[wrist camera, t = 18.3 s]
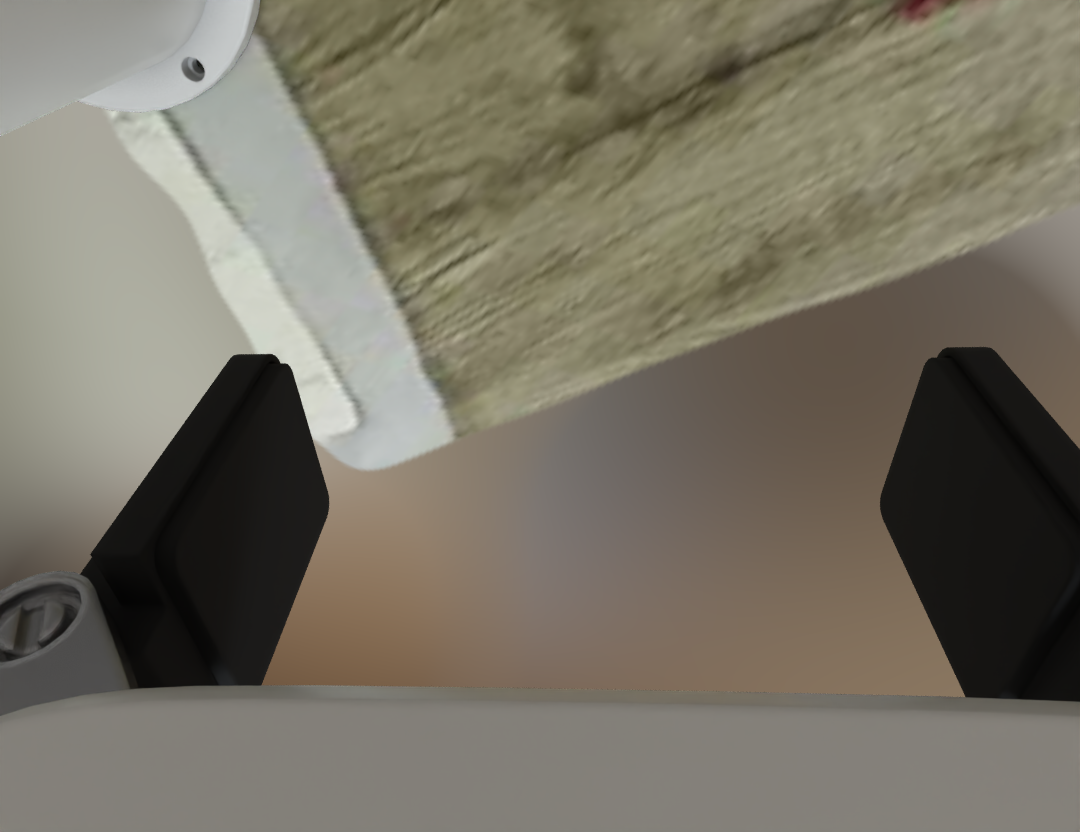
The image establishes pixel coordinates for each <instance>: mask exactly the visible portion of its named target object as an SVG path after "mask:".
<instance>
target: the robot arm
mask: <svg viewBox="0 0 1080 832" xmlns="http://www.w3.org/2000/svg"><path fill="white" fill-rule="evenodd" d="M259 6H260V0H0V136H2V135H4V134H6V133H8V132H10V131H13V130H15V129H17V128H19V127H21V126H24V125H26V124H28V123H30V122H32V121H34V120H37V119H39V118H41V117H43V116H45V115H47V114H49V113H52V112H54V111H56V110H58V109H60V108H63V107H64V106H67V105H69V104H71V103H73V102H75V101H78V102H80V103H84V104H88V105H92V106H96V107H100V108H103V109H107V110H112V111H126V112H140V113H141V112H148V111H155V110H162V109H169V108H171V107H174V106H176V105H179V104H181V103H184V102H186V101H189V100H192V99H194V98H195V97H197V96H199V95H200V94H202V93H204V92H205V91H207V90H208V89H210V88H212V87H213V86H214V85H215V84H216V83H217V82H218V81H220V80H221V79H222V78H223V77H224V76H225V75H226V74H227V73H228V72H229V71H230V70H231V69H232V68H233V67H234V65H235V64H236V62H237V60H238V59H239V57H240V56H241V54H242V53H243V51H244V50H245V48H246V46H247V45H248V42H249V39H250V37H251V34H252V31H253V28H254V26H255V23H256V20H257V17H258V13H259ZM197 60H198V61H199V62H201V64H202V66H203V68H204V71H202V70H201V69H200V68H199V67H198V65H197ZM328 510H329V495H328V491H327V487H326V484H325V480H324V477H323V474H322V471H321V467H320V463H319V460H318V457H317V454H316V450H315V446H314V443H313V440H312V436H311V433H310V429H309V426H308V423H307V419H306V416H305V412H304V409H303V406H302V402H301V399H300V395H299V392H298V389H297V385H296V382H295V378H294V375H293V372H292V369H291V368H290V366H289V365H288V364H280V361H279V360H278V358H277V357H276V356H275V355H273V354H245V355H244V354H239V355H234V356H232V357H231V358H230V360H229V361H228V362H227V364H226V365H225V367H224V368H223V369H222V371H221V372H220V374H219V375H218V376H217V378H216V379H215V381H214V382H213V383H212V385H211V386H210V388H209V389H208V390H207V392H206V393H205V395H204V396H203V397H202V399H201V400H200V402H199V403H198V404H197V406H196V407H195V409H194V410H193V411H192V413H191V414H190V416H189V417H188V418H187V420H186V421H185V423H184V424H183V425H182V427H181V428H180V430H179V431H178V432H177V434H176V435H175V437H174V438H173V439H172V441H171V442H170V444H169V445H168V446H167V448H166V449H165V451H164V452H163V453H162V455H161V456H160V458H159V459H158V460H157V462H156V463H155V465H154V466H153V467H152V469H151V470H150V472H149V473H148V475H147V476H146V477H145V478H144V480H143V481H142V483H141V484H140V486H139V487H138V488H137V490H136V491H135V492H134V494H133V495H132V497H131V498H130V499H129V501H128V502H127V504H126V505H125V506H124V508H123V510H122V511H121V512H120V513H119V515H118V516H117V518H116V519H115V521H114V522H113V523H112V525H111V526H110V528H109V529H108V530H107V532H106V533H105V534H104V536H103V537H102V539H101V540H100V542H99V543H98V544H97V546H96V547H95V549H94V550H93V551H92V553H91V556H92V558H91V560H90V561H89V562H88V564H87V565H86V567H85V568H84V569H83V571H82V572H81V574H78V573H75V572H64V571H56V572H49V573H43V574H38V575H35V576H32V577H29V578H26V579H24V580H21V581H18V582H16V583H14V584H12V585H10V586H9V587H7V588H5V589H3V590H1V591H0V832H1080V449H1079V448H1078V447H1077V446H1076V444H1075V443H1074V442H1073V441H1072V440H1071V439H1070V438H1069V436H1068V435H1067V434H1066V433H1065V432H1064V431H1063V429H1062V428H1061V427H1060V426H1059V425H1058V424H1057V422H1056V421H1055V420H1054V419H1053V418H1052V417H1051V415H1050V414H1049V413H1048V412H1047V411H1046V410H1045V409H1044V407H1043V406H1042V405H1041V404H1040V403H1039V402H1038V400H1037V399H1036V398H1035V397H1034V396H1033V395H1032V393H1031V392H1030V391H1029V390H1028V389H1027V388H1026V386H1025V385H1024V384H1023V383H1022V382H1021V381H1020V379H1019V378H1018V377H1017V376H1016V375H1015V374H1014V373H1013V372H1012V370H1011V369H1010V368H1009V367H1008V366H1007V364H1006V363H1005V362H1004V361H1003V360H1002V359H1001V357H1000V356H999V355H998V354H997V353H996V352H995V351H994V350H993V349H992V348H988V347H959V348H958V347H955V348H954V347H953V348H945V349H943V350H942V351H941V352H940V353H939V355H938V357H937V358H930V359H928V361H927V362H926V363H925V365H924V368H923V371H922V374H921V377H920V380H919V383H918V386H917V389H916V392H915V395H914V398H913V401H912V404H911V407H910V409H909V412H908V415H907V418H906V422H905V425H904V427H903V430H902V433H901V437H900V440H899V443H898V445H897V448H896V451H895V454H894V457H893V460H892V463H891V466H890V470H889V473H888V475H887V478H886V481H885V484H884V487H883V490H882V493H881V498H880V510H881V514H882V517H883V520H884V523H885V525H886V527H887V529H888V531H889V533H890V535H891V538H892V539H893V542H894V544H895V546H896V548H897V551H898V553H899V555H900V557H901V559H902V561H903V563H904V565H905V567H906V570H907V572H908V574H909V576H910V578H911V580H912V583H913V585H914V587H915V589H916V591H917V593H918V596H919V598H920V600H921V602H922V604H923V606H924V609H925V611H926V613H927V615H928V617H929V619H930V621H931V624H932V626H933V628H934V630H935V632H936V634H937V636H938V639H939V641H940V643H941V645H942V647H943V649H944V651H945V654H946V656H947V658H948V660H949V662H950V664H951V666H952V669H953V671H954V673H955V675H956V677H957V679H958V681H959V683H960V686H961V688H962V690H963V692H964V694H965V697H941V696H899V695H854V694H811V693H810V694H809V693H767V692H719V691H718V692H717V691H665V690H662V691H661V690H609V689H607V690H606V689H551V688H550V689H547V688H486V687H485V688H484V687H482V688H481V687H407V686H406V687H405V686H402V687H401V686H327V685H325V686H324V685H305V686H304V685H299V686H298V685H292V686H291V685H290V686H289V685H288V686H285V685H283V686H282V685H281V686H261V685H262V682H263V680H264V677H265V674H266V672H267V669H268V666H269V664H270V662H271V659H272V657H273V654H274V652H275V649H276V646H277V644H278V641H279V639H280V636H281V633H282V631H283V628H284V626H285V623H286V621H287V618H288V616H289V613H290V611H291V608H292V605H293V603H294V600H295V598H296V595H297V592H298V590H299V587H300V585H301V582H302V580H303V577H304V575H305V572H306V570H307V567H308V564H309V562H310V559H311V557H312V554H313V552H314V549H315V546H316V544H317V541H318V539H319V536H320V534H321V531H322V529H323V526H324V523H325V521H326V518H327V515H328Z"/></svg>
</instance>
